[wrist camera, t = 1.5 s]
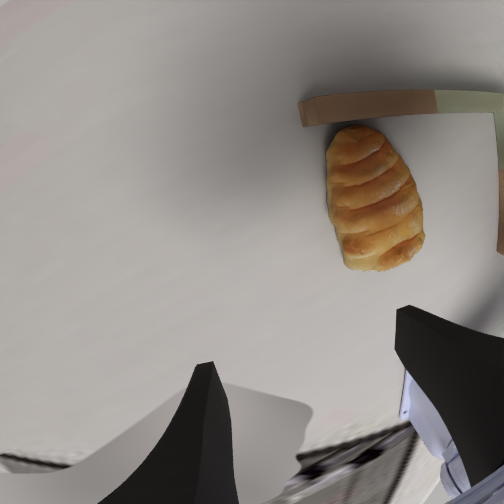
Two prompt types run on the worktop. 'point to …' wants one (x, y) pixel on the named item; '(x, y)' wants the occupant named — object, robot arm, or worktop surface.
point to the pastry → (372, 201)
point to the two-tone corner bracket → (410, 104)
